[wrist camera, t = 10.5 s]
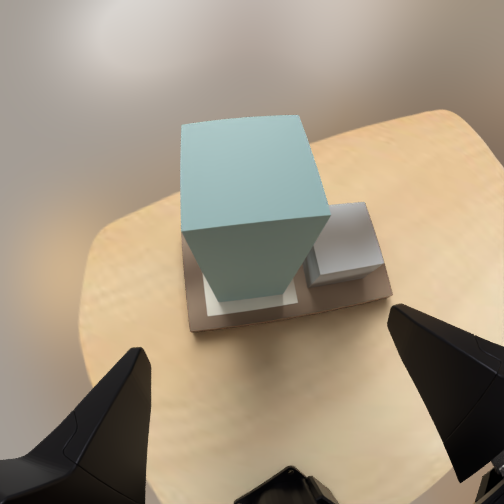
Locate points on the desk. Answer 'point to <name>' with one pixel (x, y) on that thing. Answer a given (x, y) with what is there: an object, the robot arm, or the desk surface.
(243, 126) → the pillar block
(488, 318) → the desk surface
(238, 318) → the base plate
